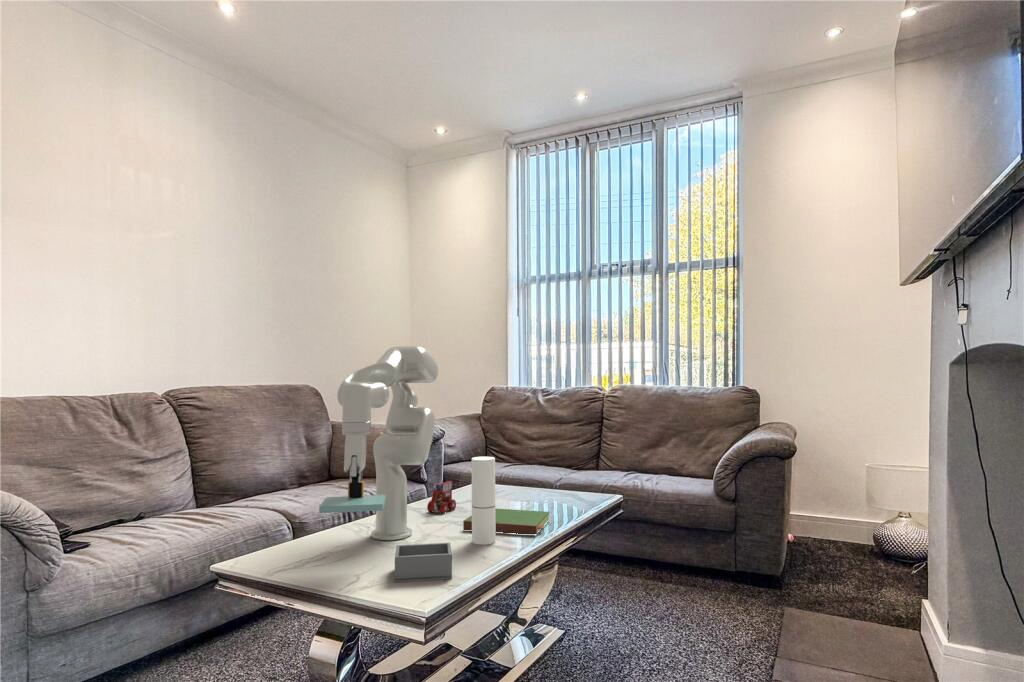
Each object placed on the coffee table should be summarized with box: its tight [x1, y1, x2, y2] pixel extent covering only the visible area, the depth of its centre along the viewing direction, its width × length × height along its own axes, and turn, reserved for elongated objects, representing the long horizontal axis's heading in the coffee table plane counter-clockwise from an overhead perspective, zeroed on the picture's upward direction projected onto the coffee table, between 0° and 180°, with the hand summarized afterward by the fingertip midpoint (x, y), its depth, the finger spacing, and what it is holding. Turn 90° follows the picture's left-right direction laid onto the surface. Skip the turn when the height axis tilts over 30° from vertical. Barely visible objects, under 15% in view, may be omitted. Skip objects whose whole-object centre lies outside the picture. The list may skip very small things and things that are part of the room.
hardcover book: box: [462, 507, 551, 535], centre depth 194 cm, size 25×19×4 cm
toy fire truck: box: [426, 480, 457, 514], centre depth 216 cm, size 7×12×10 cm, turn 153°
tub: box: [394, 542, 453, 583], centre depth 150 cm, size 10×14×6 cm
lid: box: [318, 480, 386, 514], centre depth 154 cm, size 12×16×6 cm
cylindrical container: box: [471, 456, 497, 545], centre depth 178 cm, size 7×7×25 cm
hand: (356, 496), depth 158 cm, fingers closed on lid
